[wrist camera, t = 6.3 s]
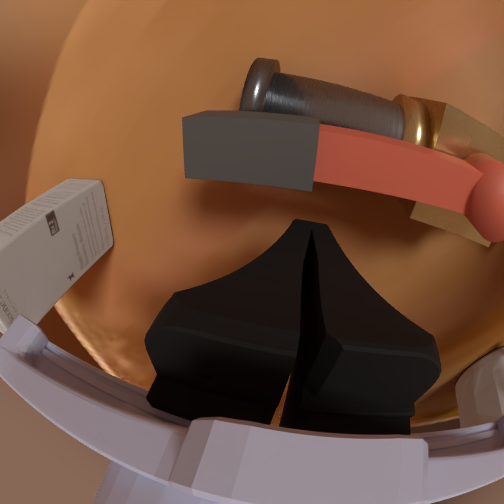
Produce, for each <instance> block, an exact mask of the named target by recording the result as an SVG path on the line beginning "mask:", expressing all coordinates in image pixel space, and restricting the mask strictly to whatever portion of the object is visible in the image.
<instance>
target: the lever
mask: <svg viewBox="0 0 504 504" xmlns="http://www.w3.org/2000/svg"><path fill="white" fill-rule="evenodd" d="M182 126H183V150H184V168H185V178H191V179H204V180H217V181H228V182H238V183H247V184H257V185H265V186H273V187H281V188H289V189H296V190H303V191H310V192H312V188H313V181H316V182H322V183H328V184H335V185H340V186H346V187H352V188H357V189H362V190H368V191H373V192H378V193H382V194H387V195H392V196H396V197H401V198H405V199H409V200H414V201H418V202H422V203H426V204H430V205H434V206H438V207H441V208H445V209H449V210H452V211H456V212H459V213H463V214H464V216H465V217H466V218H467V219H468V220H469V221H470V223H471V224H472V225H473V226H474V228H475V229H476V230H477V231H478V233H479V234H480V235H481V236H482V237H483V238H484V239H485V240H487V241H489V242H501V241H504V164H502V163H501V162H499V161H498V160H496V159H494V158H493V157H491V156H489V155H487V154H484V153H475V154H472V155H470V156H468V157H467V158H466V159H464V160H462V159H459V158H457V157H454V156H451V155H448V154H445V153H442V152H439V151H436V150H433V149H430V148H426V147H423V146H420V145H416V144H413V143H409V142H406V141H402V140H398V139H394V138H390V137H386V136H382V135H377V134H373V133H368V132H364V131H359V130H354V129H348V128H343V127H337V126H331V125H324V124H320V122H319V118H315V117H307V116H299V115H290V114H279V113H267V112H250V111H203V112H200V113H196V114H193V115H190V116H186V117H183V118H182Z"/></svg>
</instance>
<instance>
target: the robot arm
mask: <svg viewBox="0 0 504 504" xmlns="http://www.w3.org/2000/svg"><path fill="white" fill-rule="evenodd" d="M144 341H145V346H146V350H147V352H148V355H149V357H150V359H151V362H152V364H153V366H154V368H155V371H156V373H157V376H156V378H155V380H154V382H153V384H152V386H151V388H150V390H149V391H147V390H145V389H142V388H140V387H138V386H135V385H133V384H130V383H128V382H126V381H123V380H121V379H119V378H117V377H115V376H112V375H110V374H108V373H106V372H104V371H101V370H100V369H98V368H96V367H94V366H92V365H90V364H88V363H86V362H84V361H82V360H80V359H78V358H77V357H75V356H73V355H71V354H69V353H68V352H66V351H64V350H63V349H61V348H59V347H57V346H56V345H54V344H53V343H51V342H49V341H48V338H47V337H46V335H45V333H44V332H43V331H42V329H41V328H40V327H39V326H38V325H37V324H35V323H34V322H32V321H31V320H29V319H28V318H26V317H25V316H23V315H19V316H18V317H17V318H16V319H15V321H14V322H13V323H12V324H11V326H10V327H9V328H8V329H7V331H6V332H5V333H4V335H3V336H2V337H1V339H0V377H1V378H3V380H4V381H5V382H6V383H7V384H8V385H9V386H10V387H11V388H13V389H14V390H15V391H16V392H17V393H18V394H19V395H20V396H21V397H22V398H23V399H24V400H26V401H27V402H28V403H29V404H30V405H31V406H33V407H34V408H35V409H36V410H37V411H39V412H40V413H41V414H42V415H43V416H45V417H46V418H47V419H49V420H50V421H51V422H53V423H54V424H55V425H57V426H58V427H59V428H61V429H62V430H64V431H65V432H67V433H68V434H69V435H71V436H72V437H74V438H75V439H77V440H78V441H80V442H81V443H83V444H85V445H86V446H88V447H90V448H91V449H93V450H94V451H96V452H98V453H100V454H101V455H103V456H105V457H107V458H109V459H110V460H111V462H110V464H109V466H108V468H107V471H106V473H105V475H104V477H103V480H102V482H101V484H100V486H99V489H98V491H97V493H96V496H95V498H94V500H93V503H92V504H430V503H434V502H437V501H441V500H445V499H448V498H451V497H454V496H458V495H460V494H464V493H466V492H469V491H472V490H475V489H477V488H480V487H482V486H485V485H487V484H489V483H492V482H494V481H496V480H498V479H501V478H503V477H504V415H503V416H502V417H501V418H499V420H498V421H494V422H490V423H486V424H481V425H476V426H471V427H465V428H460V429H453V430H446V431H438V432H429V433H417V434H410V417H412V416H414V413H415V408H414V402H415V401H416V400H418V399H419V398H420V397H421V396H422V395H423V394H424V393H425V392H426V391H428V390H429V389H430V388H431V387H432V385H433V384H434V383H435V382H436V381H437V379H438V378H439V375H440V373H441V363H440V358H439V354H438V349H437V346H436V342H435V339H434V336H432V335H431V334H430V333H428V332H427V331H425V330H424V329H422V328H421V327H419V326H418V325H416V324H415V323H413V322H411V321H410V320H409V319H407V318H406V317H405V316H404V315H402V314H401V313H400V312H399V311H397V310H396V309H395V308H394V307H392V306H391V305H390V304H389V303H388V302H387V301H386V300H384V299H383V298H382V297H381V296H380V295H379V294H378V293H377V292H376V291H375V290H374V289H373V288H372V287H371V286H370V285H369V284H368V283H367V282H366V280H365V279H364V278H363V277H362V276H361V275H360V274H359V273H358V271H357V270H356V269H355V268H354V266H353V265H352V263H351V262H350V261H349V259H348V258H347V257H346V255H345V254H344V252H343V251H342V249H341V247H340V246H339V244H338V243H337V241H336V239H335V237H334V236H333V234H332V232H331V230H330V229H329V227H328V225H327V224H321V223H316V222H310V221H305V220H299V219H295V220H294V221H293V222H292V223H291V225H290V226H289V228H288V229H287V230H286V232H285V233H284V234H283V235H282V236H281V237H280V238H279V239H278V240H277V241H276V242H275V243H274V244H273V245H272V246H271V247H270V248H269V249H267V250H266V251H265V252H264V253H263V254H261V255H260V256H259V257H257V258H256V259H255V260H253V261H252V262H250V263H249V264H247V265H245V266H244V267H242V268H240V269H238V270H237V271H235V272H233V273H231V274H229V275H227V276H224V277H222V278H220V279H217V280H214V281H212V282H209V283H206V284H203V285H200V286H197V287H193V288H190V289H186V290H183V291H179V292H175V293H174V294H173V295H172V297H171V298H170V299H169V300H168V302H167V303H166V304H165V305H164V307H163V308H162V309H161V311H160V312H159V314H158V315H157V317H156V319H155V320H154V322H153V324H152V325H151V327H150V329H149V330H148V332H147V334H146V337H145V340H144ZM290 373H291V375H290ZM289 376H290V380H289V385H288V390H287V395H286V399H285V404H284V408H283V412H282V416H281V421H280V425H279V427H278V426H272V425H270V423H271V420H272V418H273V415H274V413H275V410H276V408H277V407H278V405H279V402H280V400H281V397H282V395H283V392H284V389H285V387H286V384H287V381H288V379H289Z"/></svg>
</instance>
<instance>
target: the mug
mask: <svg viewBox="0 0 504 504" xmlns="http://www.w3.org/2000/svg"><path fill="white" fill-rule="evenodd" d="M455 392H456V399H457V404H458V410H459V417H460V425H461V428H465V427H471V426H476V425H481V424H486V423H490V422H494V421H498V420H499V418H501V417H502V416H503V415H504V346H503V347H500V348H498V349H496V350H494V351H492V352H490V353H489V354H487V355H485V356H484V357H482V358H481V359H479V360H478V361H476V362H475V363H474V364H473V365H471V366H470V367H469V368H468V369H467V370H466V371H465V372H464V373H463V374H462V375H461V377H460V378H459V380H458V381H457V383H456V386H455Z"/></svg>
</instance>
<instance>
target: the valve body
mask: <svg viewBox="0 0 504 504" xmlns="http://www.w3.org/2000/svg"><path fill="white" fill-rule="evenodd" d="M393 102H395V103H398V104H400V105H402V107H403V109H404V113H405V133H404V139H403V141H406V142H409V143H413V144H416V145H420V146H423V147H426V148H430V149H433V150H436V151H439V152H442V153H445V154H448V155H451V156H454V157H457V158H459V159H462V160H464V159H466V158H467V157H468V156H470V155H472V154H475V153H484V154H487V155H489V156H491V157H493V158H494V159H496V160H498V161H499V162H501V163H502V164H504V137H502V136H501V135H500V134H498V133H497V132H495V131H494V130H492V129H491V128H489V127H487V126H486V125H484V124H483V123H481V122H479V121H478V120H476V119H474V118H473V117H471V116H469V115H468V114H466V113H464V112H462V111H460V110H459V109H457V108H455V107H453V106H451V105H449V104H447V103H443V102H438V101H433V100H428V99H422V98H417V97H410V96H409V97H407V96H405V95H402V94H400V95H397V96H396V97H395V98H394V99H393ZM398 199H399V201H400V202H401V204H402V206H403V207H404V209H405V211H406V212H407V214H408V216H409V218H411V219H414V220H417V221H420V222H423V223H426V224H429V225H432V226H435V227H437V228H440V229H443V230H446V231H448V232H451V233H454V234H456V235H459V236H462V237H464V238H467V239H469V240H472V241H474V242H477V243H479V244H482V245H484V246H487V247H489V245H490V244H491V242H489V241H487V240H485V239H484V238H483V237H482V236H481V235H480V234H479V233H478V231H477V230H476V229H475V228H474V226H473V225H472V224H471V223H470V221H469V220H468V219H467V218H466V217H465V216H464V214H463V213H459V212H456V211H452V210H449V209H445V208H441V207H438V206H434V205H430V204H426V203H422V202H418V201H414V200H409V199H405V198H401V197H398Z"/></svg>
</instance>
